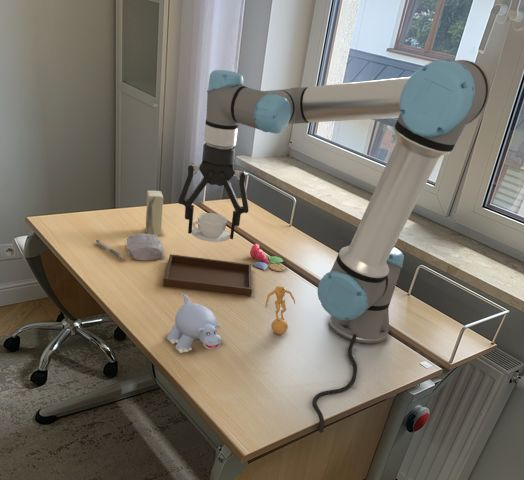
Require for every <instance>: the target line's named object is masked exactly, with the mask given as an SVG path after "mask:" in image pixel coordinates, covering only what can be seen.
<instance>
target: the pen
mask: <svg viewBox="0 0 524 480" xmlns="http://www.w3.org/2000/svg"><path fill="white" fill-rule="evenodd" d="M95 242H96V244H97V246H98V247H100V248H101V249H103V250H107V251H109V252H110V253H111V254H113V255H114V256H116V257H117V258H119V259H121V260H125V257H124V256H123V255H122V254H121V253H119V252H118V251H116V250H115V249H113V248H111V247H109V246H108V245H107V244H105V243H103V242H102V241H100V240H99V239H95Z"/></svg>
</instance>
